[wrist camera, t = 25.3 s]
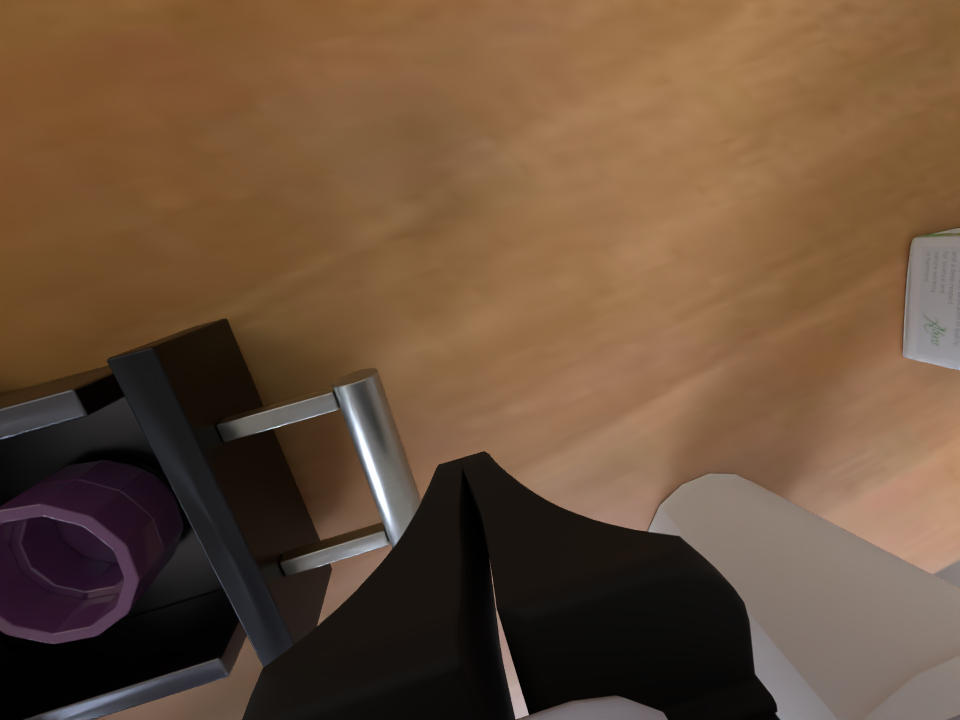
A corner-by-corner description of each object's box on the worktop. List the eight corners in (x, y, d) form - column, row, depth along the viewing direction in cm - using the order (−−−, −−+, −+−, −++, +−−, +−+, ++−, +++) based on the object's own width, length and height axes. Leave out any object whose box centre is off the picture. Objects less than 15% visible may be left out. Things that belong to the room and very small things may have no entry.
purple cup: (62, 436, 15) (-30, 485, 12) (205, 477, 16) (154, 533, 13) (32, 549, 16) (-62, 623, 13) (169, 581, 17) (114, 657, 14)
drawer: (363, 281, 16) (342, 295, 12) (445, 534, 19) (453, 621, 15) (-140, 415, 15) (-373, 487, 11) (32, 661, 18) (-94, 797, 14)
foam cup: (744, 625, 24) (1106, 1049, 11) (588, 595, 22) (815, 1063, 9) (828, 467, 22) (1375, 765, 9) (665, 419, 20) (1078, 711, 7)
